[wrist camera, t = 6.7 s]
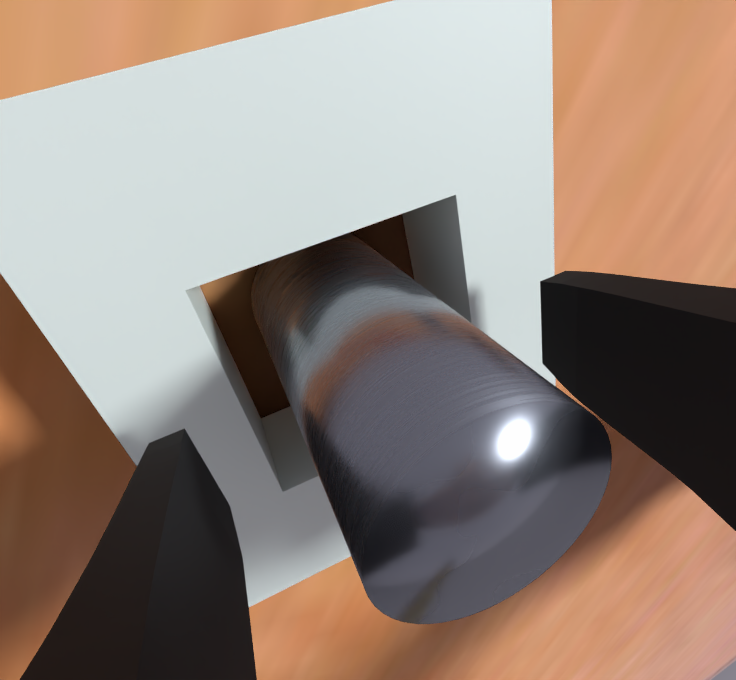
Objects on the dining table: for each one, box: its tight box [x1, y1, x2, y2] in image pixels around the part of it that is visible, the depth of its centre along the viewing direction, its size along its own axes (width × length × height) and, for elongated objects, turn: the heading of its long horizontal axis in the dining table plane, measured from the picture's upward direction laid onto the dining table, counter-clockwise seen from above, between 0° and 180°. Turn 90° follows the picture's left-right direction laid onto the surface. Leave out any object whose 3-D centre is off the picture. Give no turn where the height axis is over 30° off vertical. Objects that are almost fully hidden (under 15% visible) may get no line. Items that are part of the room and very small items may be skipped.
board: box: [0, 0, 555, 607], centre depth 11 cm, size 12×10×3 cm
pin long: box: [251, 233, 612, 624], centre depth 9 cm, size 4×4×8 cm
